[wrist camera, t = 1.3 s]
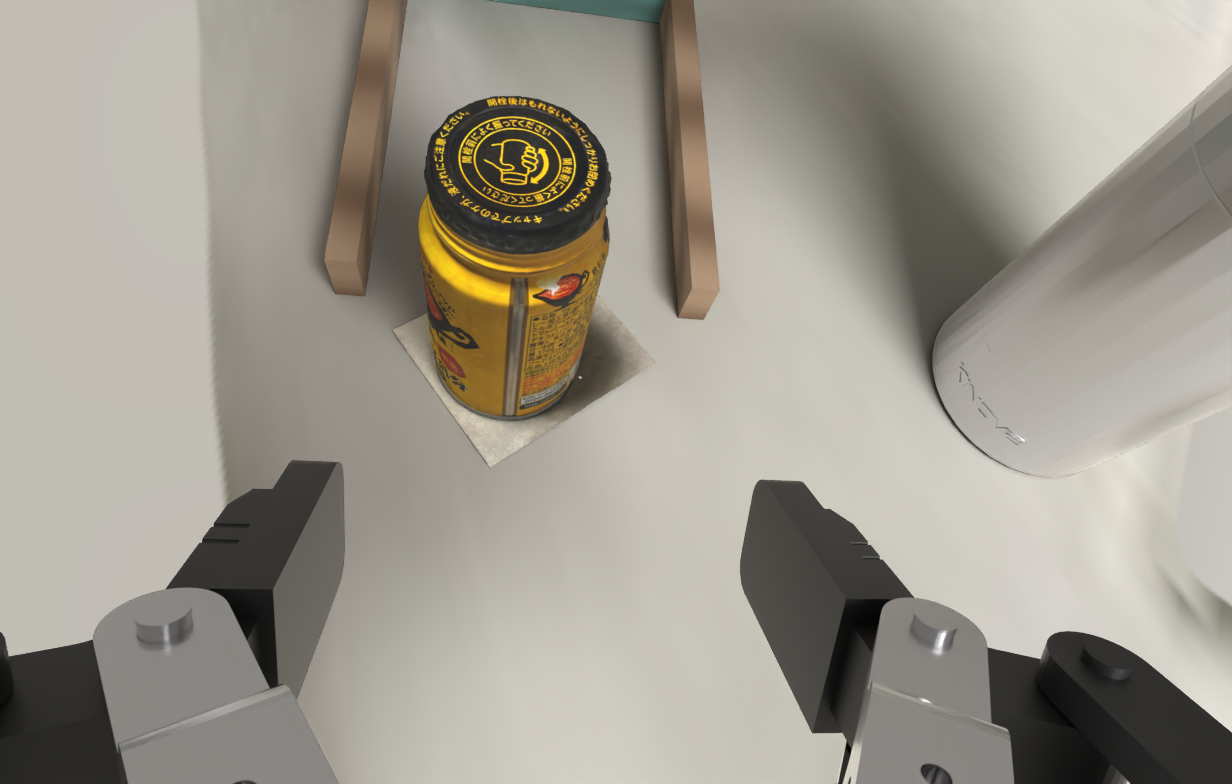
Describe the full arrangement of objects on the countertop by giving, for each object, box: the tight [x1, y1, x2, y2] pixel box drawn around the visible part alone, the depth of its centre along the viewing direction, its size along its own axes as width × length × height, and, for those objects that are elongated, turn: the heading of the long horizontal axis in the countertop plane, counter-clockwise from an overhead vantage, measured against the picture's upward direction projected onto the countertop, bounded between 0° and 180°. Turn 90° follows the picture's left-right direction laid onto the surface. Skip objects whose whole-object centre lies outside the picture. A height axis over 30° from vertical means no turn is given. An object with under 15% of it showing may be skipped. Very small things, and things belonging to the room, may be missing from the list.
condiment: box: [392, 96, 655, 467], centre depth 26 cm, size 7×8×12 cm
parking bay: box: [324, 0, 720, 320], centre depth 35 cm, size 20×16×4 cm
